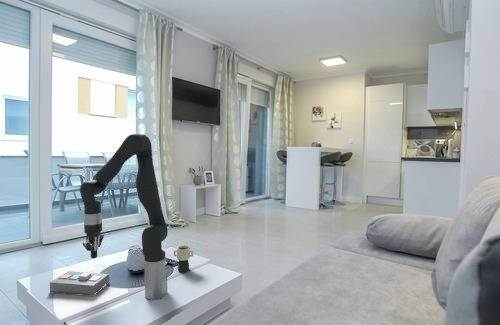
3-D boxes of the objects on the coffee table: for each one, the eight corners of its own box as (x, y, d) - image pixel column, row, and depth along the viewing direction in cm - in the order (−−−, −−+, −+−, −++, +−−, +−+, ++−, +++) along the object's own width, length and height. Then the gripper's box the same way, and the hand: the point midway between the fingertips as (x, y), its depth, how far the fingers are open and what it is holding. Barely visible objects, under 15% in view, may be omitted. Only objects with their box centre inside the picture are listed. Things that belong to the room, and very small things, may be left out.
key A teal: (82, 283, 143) (81, 275, 143) (76, 286, 139) (76, 278, 139) (74, 282, 143) (74, 274, 143) (69, 286, 140) (69, 278, 139)
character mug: (194, 267, 166) (194, 245, 165) (192, 273, 158) (192, 249, 158) (175, 267, 166) (175, 245, 165) (172, 273, 158) (171, 249, 158)
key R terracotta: (72, 282, 144) (72, 274, 143) (67, 286, 140) (66, 278, 140) (65, 282, 144) (65, 274, 144) (59, 285, 140) (59, 277, 140)
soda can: (137, 271, 160) (136, 250, 159) (125, 270, 161) (125, 249, 161) (144, 266, 167) (143, 245, 166) (133, 265, 168) (132, 244, 168)
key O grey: (91, 281, 142) (91, 273, 142) (86, 284, 139) (86, 276, 138) (84, 280, 143) (84, 272, 142) (78, 284, 139) (78, 276, 139)
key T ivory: (101, 284, 142) (100, 276, 142) (96, 288, 138) (95, 280, 138) (93, 284, 142) (93, 276, 142) (88, 287, 138) (88, 279, 138)
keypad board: (109, 283, 146) (109, 273, 145) (93, 296, 134) (93, 285, 134) (68, 280, 148) (68, 271, 148) (50, 292, 136) (49, 282, 136)
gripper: (91, 226, 132) (92, 263, 133) (108, 219, 145) (109, 253, 146) (76, 225, 132) (77, 263, 134) (94, 218, 146) (95, 252, 147)
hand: (94, 257), depth 140 cm, fingers closed
